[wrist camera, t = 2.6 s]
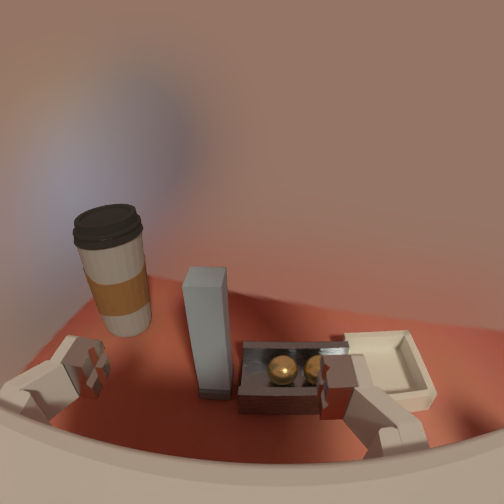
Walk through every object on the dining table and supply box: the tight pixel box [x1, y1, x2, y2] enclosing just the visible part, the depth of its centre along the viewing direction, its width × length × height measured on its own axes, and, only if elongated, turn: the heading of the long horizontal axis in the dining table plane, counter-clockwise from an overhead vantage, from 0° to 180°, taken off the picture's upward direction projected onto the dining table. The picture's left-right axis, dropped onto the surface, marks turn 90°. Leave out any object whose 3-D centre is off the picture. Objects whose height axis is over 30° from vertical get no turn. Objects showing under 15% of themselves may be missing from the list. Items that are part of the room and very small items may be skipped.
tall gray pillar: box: [182, 267, 234, 400], centre depth 28 cm, size 3×4×13 cm
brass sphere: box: [267, 355, 298, 385], centre depth 30 cm, size 3×3×3 cm
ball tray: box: [343, 330, 437, 412], centre depth 30 cm, size 8×10×2 cm
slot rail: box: [238, 341, 350, 414], centre depth 30 cm, size 11×7×3 cm, turn 87°
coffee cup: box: [73, 204, 151, 337], centre depth 37 cm, size 8×8×15 cm
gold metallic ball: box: [303, 355, 322, 385], centre depth 30 cm, size 3×3×3 cm
